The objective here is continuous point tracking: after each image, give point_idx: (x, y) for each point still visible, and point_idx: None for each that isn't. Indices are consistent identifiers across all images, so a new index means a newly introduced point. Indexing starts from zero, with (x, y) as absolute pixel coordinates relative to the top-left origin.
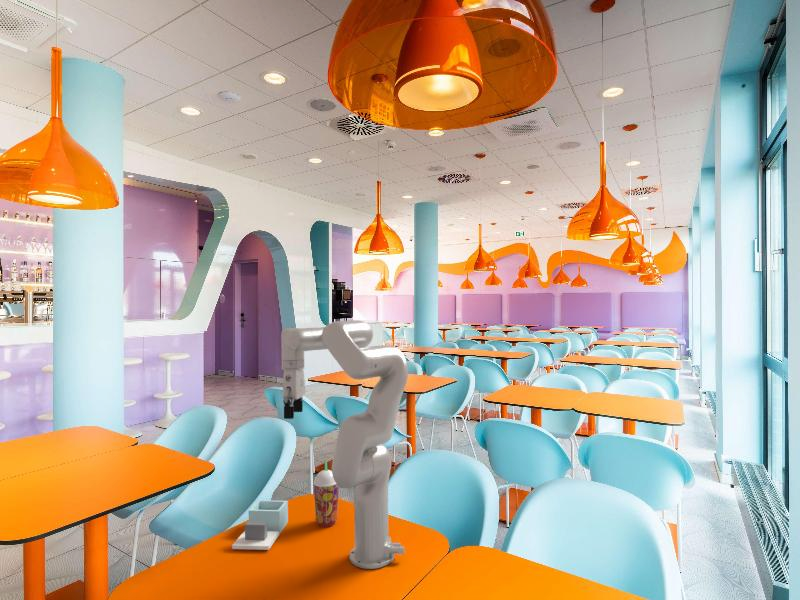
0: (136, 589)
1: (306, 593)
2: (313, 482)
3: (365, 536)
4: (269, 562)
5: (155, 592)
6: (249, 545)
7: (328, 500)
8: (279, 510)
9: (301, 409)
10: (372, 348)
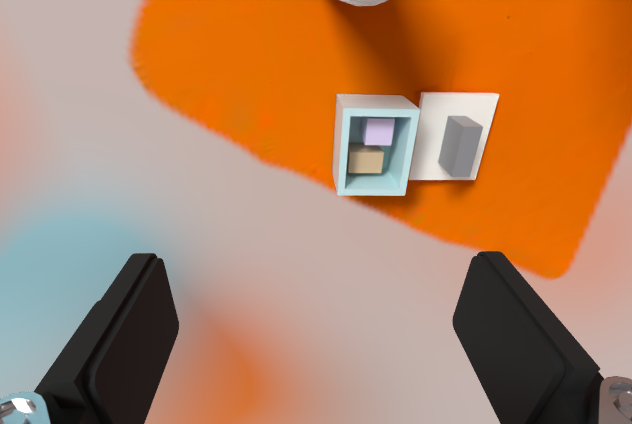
0: (562, 264)
1: None
2: (383, 1)
3: None
4: (541, 73)
5: (581, 236)
6: (484, 142)
7: None
8: (414, 111)
9: (151, 275)
10: None
